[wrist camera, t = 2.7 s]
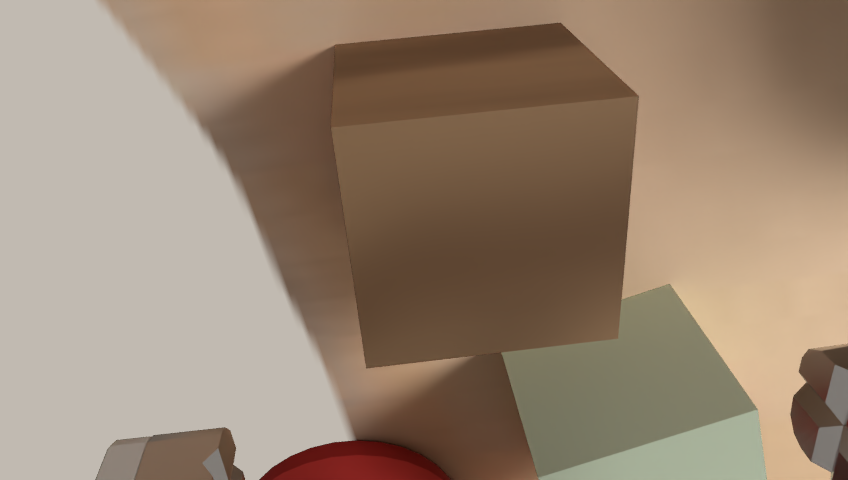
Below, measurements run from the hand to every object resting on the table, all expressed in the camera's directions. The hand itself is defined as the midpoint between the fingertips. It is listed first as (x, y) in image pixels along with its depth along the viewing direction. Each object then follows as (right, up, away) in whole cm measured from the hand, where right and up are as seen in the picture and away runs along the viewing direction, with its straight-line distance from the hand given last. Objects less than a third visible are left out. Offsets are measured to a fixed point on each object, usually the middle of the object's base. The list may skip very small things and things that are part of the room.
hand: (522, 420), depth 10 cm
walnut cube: (-1, +5, +7) cm, 9 cm away
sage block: (+4, -1, +11) cm, 12 cm away
